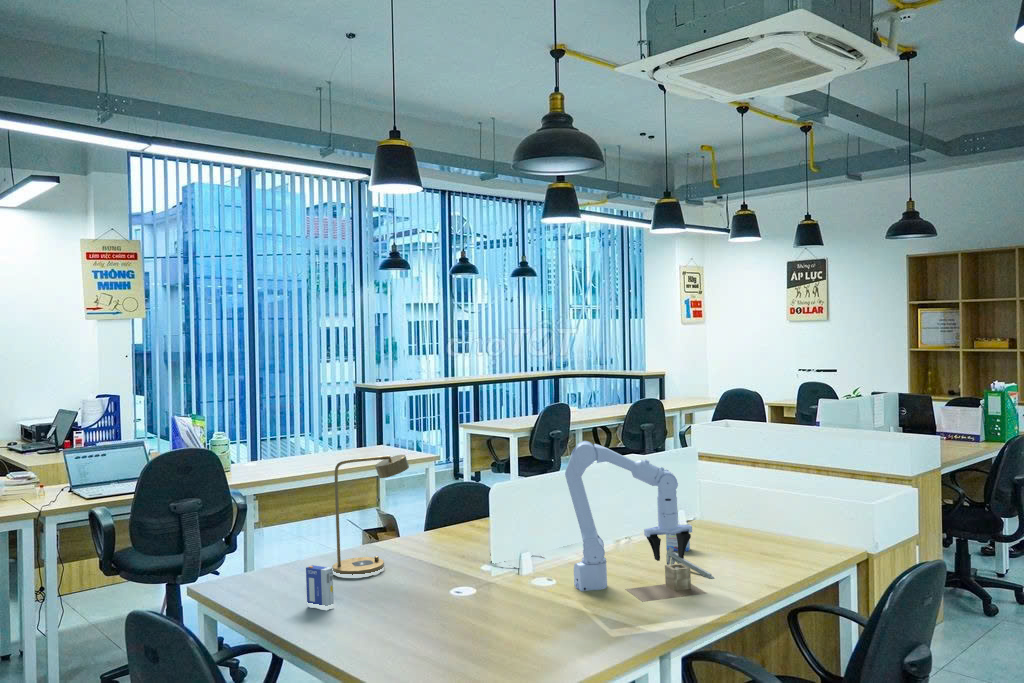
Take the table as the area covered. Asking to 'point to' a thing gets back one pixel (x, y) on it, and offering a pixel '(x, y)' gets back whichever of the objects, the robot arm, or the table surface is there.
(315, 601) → the walkman
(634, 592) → the brown board with peg
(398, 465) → the lamp
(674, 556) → the caliper
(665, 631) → the table surface
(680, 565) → the hollow square tube
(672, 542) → the medicine box
